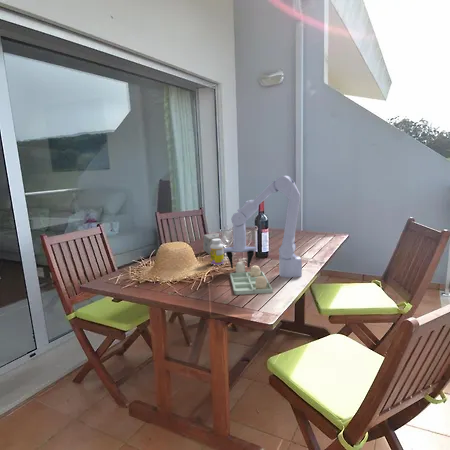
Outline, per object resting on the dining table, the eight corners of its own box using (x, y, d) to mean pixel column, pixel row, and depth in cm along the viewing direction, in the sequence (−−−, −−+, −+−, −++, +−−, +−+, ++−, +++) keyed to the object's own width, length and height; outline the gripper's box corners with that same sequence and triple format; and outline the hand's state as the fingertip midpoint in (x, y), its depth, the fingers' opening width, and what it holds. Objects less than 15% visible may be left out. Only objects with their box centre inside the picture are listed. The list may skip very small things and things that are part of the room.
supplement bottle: (209, 263, 168) (208, 238, 166) (221, 261, 171) (220, 237, 168) (213, 266, 162) (212, 241, 160) (225, 264, 165) (224, 240, 162)
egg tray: (262, 276, 146) (262, 271, 146) (272, 294, 125) (272, 289, 125) (230, 277, 145) (229, 272, 145) (234, 296, 124) (234, 291, 124)
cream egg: (244, 271, 154) (244, 260, 153) (245, 274, 149) (245, 263, 148) (235, 271, 153) (234, 260, 152) (236, 274, 149) (235, 263, 148)
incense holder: (209, 255, 184) (208, 236, 182) (203, 251, 191) (202, 234, 189) (224, 252, 189) (224, 234, 187) (217, 249, 196) (217, 232, 194)
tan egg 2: (265, 287, 131) (265, 274, 130) (267, 291, 126) (267, 277, 125) (254, 287, 131) (254, 274, 130) (256, 291, 126) (256, 278, 125)
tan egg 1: (259, 275, 145) (259, 263, 144) (261, 279, 140) (261, 266, 139) (249, 276, 144) (249, 264, 143) (251, 279, 140) (251, 267, 139)
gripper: (254, 235, 153) (254, 263, 155) (223, 237, 152) (223, 265, 154) (256, 239, 146) (256, 268, 148) (224, 240, 145) (224, 270, 147)
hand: (240, 267), depth 151 cm, fingers open, 7 cm apart
